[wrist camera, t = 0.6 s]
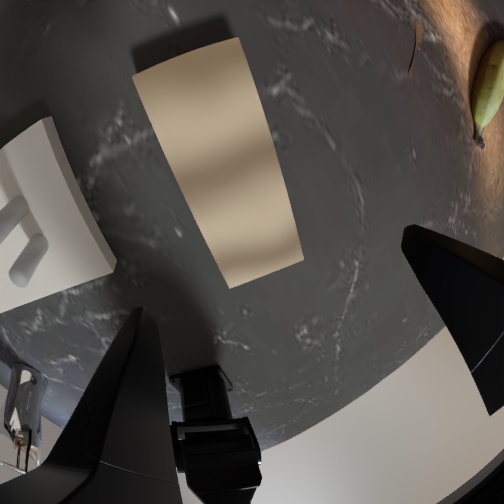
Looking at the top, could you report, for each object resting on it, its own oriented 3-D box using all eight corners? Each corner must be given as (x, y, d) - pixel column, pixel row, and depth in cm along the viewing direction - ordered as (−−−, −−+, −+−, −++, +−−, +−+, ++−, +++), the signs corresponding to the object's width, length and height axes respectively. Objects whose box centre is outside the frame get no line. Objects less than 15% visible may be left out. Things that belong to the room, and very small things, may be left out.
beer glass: (3, 355, 22) (-19, 452, 10) (43, 367, 25) (29, 473, 13) (18, 381, 25) (5, 467, 13) (55, 392, 28) (48, 482, 16)
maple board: (292, 242, 23) (303, 259, 21) (224, 268, 23) (229, 288, 21) (231, 43, 13) (238, 36, 11) (139, 77, 13) (131, 76, 11)
